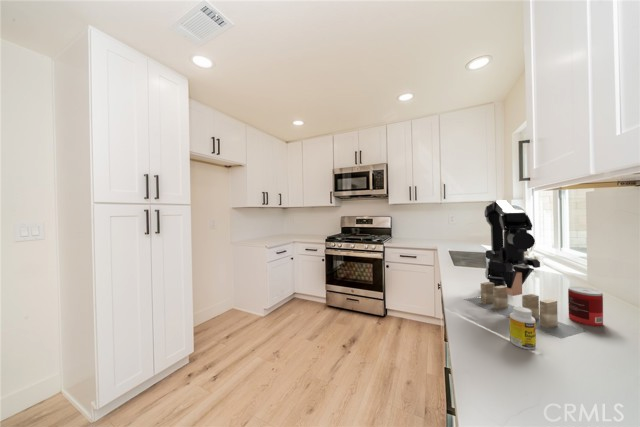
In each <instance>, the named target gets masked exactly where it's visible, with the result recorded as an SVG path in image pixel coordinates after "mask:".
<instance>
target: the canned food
mask: <svg viewBox="0 0 640 427" xmlns="http://www.w3.org/2000/svg"><path fill="white" fill-rule="evenodd" d="M567 288H568V289H567V290H568V291H567V298H568V302H567V303H568V308H567V309H568V318H569V319H570V320H571V321H573V322H575V323H578V324H582V325H584V326H590V327H602V326H603V325H604V297H603V296H604V294H603V292H602V291H600V290H597V289H594V288H589V287H584V286H569V287H567Z"/></svg>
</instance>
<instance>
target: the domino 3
mask: <svg viewBox="0 0 640 427" xmlns="http://www.w3.org/2000/svg"><path fill="white" fill-rule="evenodd" d="M507 294H508V296H512V297H514V296H521V295H523V285H522V273H521V272H517V273H516V276H515V279H514V282H513V285H512V288H511V289H510V288H507Z"/></svg>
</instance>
